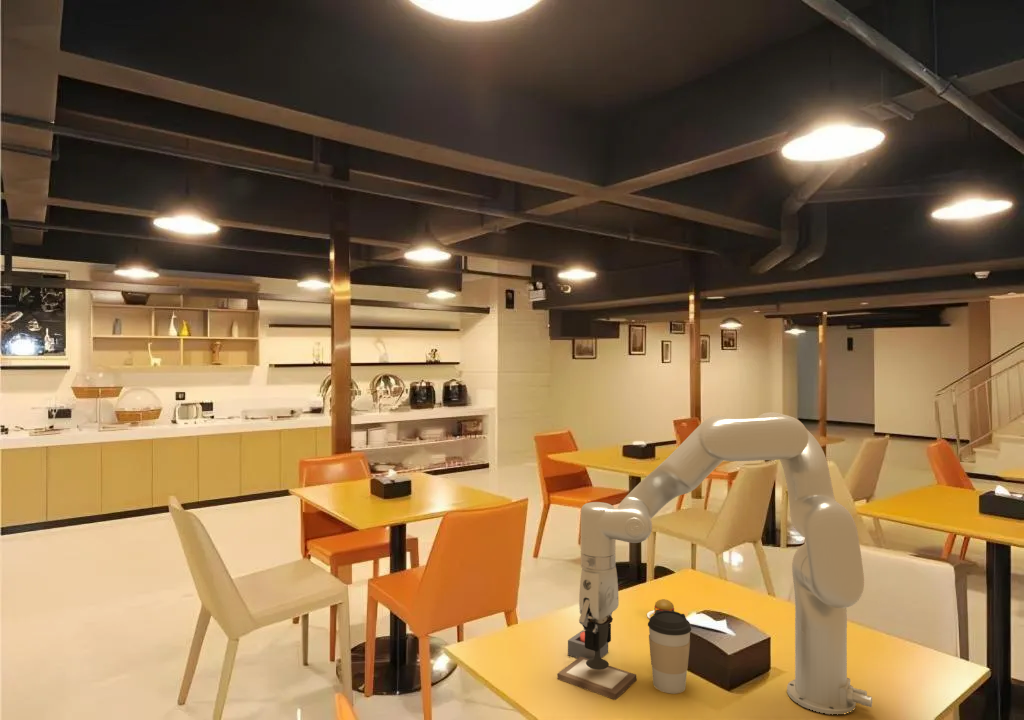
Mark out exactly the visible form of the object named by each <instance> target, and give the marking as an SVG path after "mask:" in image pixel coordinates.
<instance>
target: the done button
mask: <svg viewBox="0 0 1024 720" xmlns="http://www.w3.org/2000/svg"><path fill="white" fill-rule="evenodd" d="M580 641H581V642H584V643H585V632H582V633H580Z"/></svg>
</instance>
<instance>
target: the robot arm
mask: <svg viewBox="0 0 1024 720" xmlns="http://www.w3.org/2000/svg"><path fill="white" fill-rule="evenodd" d="M771 460H772V461H775V460H777V461H778V460H779V462H780V463H781V466H782V469H783V472H784V478H785V483H786V490H787V496H788V497H787V498H788V504H789V505H788V506H789V516H790V517H789V518H790V522H791V524H792V526H793V527H794V529H795V530H796V531H797V533H799V534H800V535H801V536H802V537H803V538H804V541H805V543H804V544H802V545H800V546H799V547H797V550H796V551H795V553H794V554H793V558H792V563H791V564H792V565H791V571H792V580H793V588H794V602H795V603H794V606H795V607H794V608H795V609H794V611H795V613H794V629H795V630H794V635H795V636H794V640H795V641H794V645H795V646H794V660H795V661H794V677H795V678H794V679H792V680H790V681H789V682H788V683H787V685H786V693H787V695H788V696H789V698H791V700H792V702H793V701H794V702H795V703H796V704H797V703H798V705H799V706H801V707H803V708H805V709H807V710H809V709H810V710H809V711H812V710H813V711H812V712H815V711H816V712H815V713H819V712H820V713H819V714H823V713H825V715H830V714H832V715H833V714H837V715H836V716H839V715H838V714H844V713H847V712H850V711H852V710H853V709H854V708H855V709H856V707H857V705H856V704H859V705H862V706H865V707H869V708H872V707H873V696H870V695H867V694H868V692H867V690H864V689H862V688H861V689H860V688H855V687H854V685H851V678H850V677H848V676H847V675H848V672H847V671H848V670H847V669H848V667H847V665H848V662H847V661H848V660H847V659H848V657H847V654H848V652H847V649H848V647H847V646H848V645H847V644H848V640H847V639H848V638H847V637H848V636H847V635H848V634H847V633H848V632H847V631H848V613H847V612H848V611H847V608H850V607H853V606H854V605H855V604H857V602H858V601H859V600H860V599H861V598H862V596H863V594H864V593H863V592H864V588H865V577H864V576H865V575H864V573H865V572H864V567H863V559H862V552H861V546H860V539H859V532H858V527H857V525H856V521H855V520H854V517H853V515H852V514H851V512H850V511H849V510H848V509H847V508H846V506H844V505H842V504H841V503H839V502H838V501H836V498H835V494H834V490H833V482H832V478H831V474H830V468H829V463H828V460H827V456H826V455H825V452H824V450H823V448H822V446H821V444H820V443H819V441H818V440H817V438H816V437H815V436H814V435H813V434H812V433H811V432H810V431H809V430H808V429H807V428H806V426H805V425H804V423H802V421H800V420H799V419H798V418H796V417H793V416H790V415H787V414H784V413H781V412H776V411H774V412H773V411H770V412H764V413H762V414H759V415H757V417H753V418H752V417H751V418H728V417H726V416H721V415H712V416H710V417H708V418H706V419H704V420H703V421H702V422H701V423H700V424H699V425H698V426H697V427H696V428H695V429H694V430H693V431H692V432H691V433H690V434H689V435H688V437H686V439H685V440H683V441H682V443H681V444H680V445H679V446H678V447H677V448H676V449H675V450H674V451H673V452H672V453H670V455H668V457H666V459H664V460H663V461H662V462H661V463H660V464H659V465H658V466H657V467H655V468H654V470H652V471H651V472H650V473H649V474H647V475H646V476H645V477H644V478H643V479H642V480H641V481H640V482H639V483H638V484H637V485H636V486H634V488H633V489H632V490H631V491H630V492H629V493H628V494H627V495H626V496H625V497H624V498H623V499H622V500H621V501H620V503H619V504H618V506H617V507H616V508H615V507H614V505H612V504H610V503H607V502H603V501H602V502H600V501H592V502H586V503H585V504H583V505H582V506H581V509H580V568H581V574H580V580H579V599H578V602H579V603H578V606H579V608H578V609H579V615H580V616H579V619H578V622H579V624H580V625H582V627H583V630H584V631H585V648H587V649H590V650H593V651H596V652H597V651H599V632H597V629H598V625H597V624H598V620H601V619H603V618H604V617H606V616H607V615H610V616H611V617H612V614H613V612H615V611H616V610H618V608H619V601H620V600H619V582H618V572H617V571H618V570H617V566H616V541H620V542H624V543H625V542H626V543H633V544H638V543H642V542H645V541H646V540H647V539H648V538H649V537H650V536H651V535H652V530H653V522H652V519H653V518H654V517H655V516H656V515H657V514H658V513H659V511H660V510H661V509H663V508H664V507H665V506H666V505H667V504H668V503H669V502H671V501H672V500H673V499H675V498H677V497H679V496H683V495H687V494H689V493H691V492H693V491H694V490H696V489H697V488H698V487H699V485H701V484H702V483H703V482H704V481H705V480H706V479H707V477H709V476H710V475H711V474H712V472H713V471H714V470H716V469H717V468H718V467H719V465H721V464H722V463H723V462H724V461H725V462H754V461H771ZM589 613H592V615H589ZM612 618H613V617H612ZM589 619H592V620H594V623H593V624H592V623H591V622H589ZM611 641H612V623H610V624H609V630H608V638H607V642H608V643H610V642H611ZM855 706H856V707H855ZM855 709H854V710H855ZM852 712H853V711H852ZM844 715H845V714H844ZM833 716H834V715H833Z"/></svg>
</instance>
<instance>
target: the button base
mask: <svg viewBox="0 0 1024 720" xmlns="http://www.w3.org/2000/svg"><path fill="white" fill-rule="evenodd" d="M582 632H585V630H584V629H583V630H580V631H579V632H578V633H575V635H573V636H572V637H570V638H569V639H568V640H567V656H569V655H570V656H569V657H572V658H575V659H578V658H579V657H580V656H581V657H584V658H587V659H591V658H594V656H595V651H593V650H590V649H587V648H585V643H584V642H581V641H580V633H582ZM608 653H609V642H606V644H605V645H604V646H603V647H602V648H601V649H600V656H601V659H603V658H604V657H605V656H606V655H607V654H608Z"/></svg>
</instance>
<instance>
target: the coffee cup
mask: <svg viewBox="0 0 1024 720" xmlns="http://www.w3.org/2000/svg"><path fill="white" fill-rule="evenodd" d="M648 619H649V618H648ZM647 627H648V631H649V634H648V641H649V642H648V643H649V654H650V666H651V670H652V672H651V673H652V684H653V686H654V688H655V689H657V690H658V691H660V692H663V693H667V694H672V695H673V694H681V693H683V692H684V691H685V690H686V688H687V687H686V684H687V673H688V672H687V670H688V666H689V658H690V657H689V656H690V646H691V639H690V638H691V637H690V635H691V631H692V627H691V623H690V621H689V620H688V619H687V617H686V614H685V613H680V612H677V611H675V610H674V611H669V610H662V611H657V612H655V613H653V614H652V616H650V619H649V621H648V623H647Z"/></svg>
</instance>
